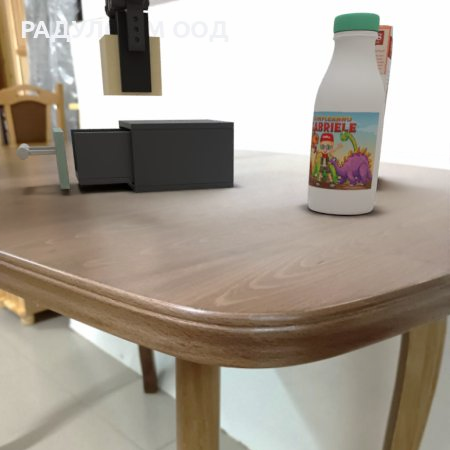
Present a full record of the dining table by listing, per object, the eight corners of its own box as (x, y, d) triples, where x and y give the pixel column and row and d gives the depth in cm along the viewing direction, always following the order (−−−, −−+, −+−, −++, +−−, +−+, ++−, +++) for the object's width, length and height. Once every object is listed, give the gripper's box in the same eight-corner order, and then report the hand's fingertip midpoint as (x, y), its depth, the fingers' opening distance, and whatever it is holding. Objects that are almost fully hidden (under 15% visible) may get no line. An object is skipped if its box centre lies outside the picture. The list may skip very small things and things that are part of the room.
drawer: (21, 191, 64) (12, 132, 61) (24, 179, 74) (16, 128, 71) (160, 184, 69) (157, 130, 67) (145, 173, 79) (142, 126, 77)
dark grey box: (135, 192, 68) (130, 123, 65) (122, 180, 79) (118, 120, 76) (233, 187, 72) (234, 122, 69) (208, 175, 84) (208, 119, 80)
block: (109, 95, 45) (104, 34, 43) (103, 95, 50) (99, 39, 48) (162, 95, 47) (160, 36, 45) (152, 95, 51) (149, 42, 49)
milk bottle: (320, 201, 62) (333, 23, 55) (381, 207, 59) (404, 17, 51) (296, 211, 56) (307, 13, 49) (362, 219, 53) (385, 5, 45)
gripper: (187, -289, 32) (192, 92, 41) (140, -163, 48) (152, 93, 57) (69, -319, 30) (102, 91, 39) (60, -177, 46) (85, 92, 55)
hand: (131, 91), depth 48 cm, fingers closed on block, 5 cm apart
